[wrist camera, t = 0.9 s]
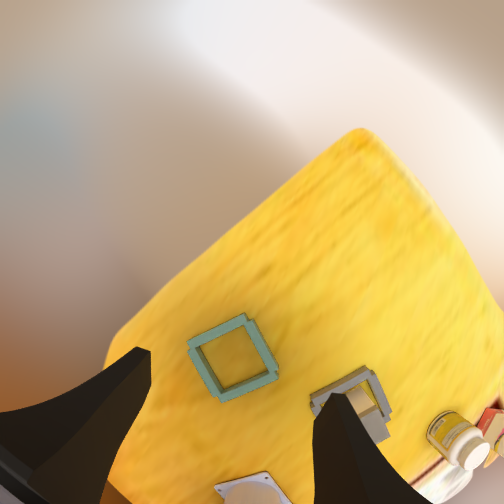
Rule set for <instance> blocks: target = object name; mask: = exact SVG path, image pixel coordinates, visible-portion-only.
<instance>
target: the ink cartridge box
mask: <svg viewBox="0 0 504 504" xmlns="http://www.w3.org/2000/svg"><path fill="white" fill-rule="evenodd" d="M477 428H479V429H480V430H481V431H482V434H483V439H484V440H485V441H487V442H488V443H489V444H490V448H491V449H493V450H494V451H495V452H497V453H498V454H499V455H501V456H502V457H503V458H504V410H501V409H492V408H486V410H485V412H484V414H483V416H482V418H481V420H480V421H479V423H478V425H477Z"/></svg>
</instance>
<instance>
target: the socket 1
mask: <svg viewBox="0 0 504 504" xmlns="http://www.w3.org/2000/svg"><path fill="white" fill-rule="evenodd" d="M242 325H244V327H245V328H246V330H247V332H248V334H249V336H250V338H251V340H252V341H253V343H254V345H255V347H256V349H257V351H258V352H259V354H260V356H261V358H262V360H263V362H264V363H265V365H266V367H267V369H268V371H266V372H264V373H261V374H259V375H257V376H255V377H252V378H250V379H248V380H246V381H243V382H241V383H239V384H236V385H234V386H232V387H229V388H227V389H224V390H223V388H222V386H221V385H220V383H219V381H218V380H217V378H216V376H215V374H214V373H213V371H212V369H211V367H210V365H209V364H208V362H207V360H206V358H205V356H204V355H203V353H202V351H201V349H200V347H199V346H200V345H202V344H204V343H206V342H209V341H211V340H213V339H215V338H217V337H219V336H221V335H223V334H225V333H227V332H229V331H232V330H234V329H236V328H238V327H240V326H242ZM187 344H188V345H189V347H190V350H188V351H187V352H188V354H189V356H190V358H191V360H192V362H193V363H194V365H195V367H196V369H197V371H198V372H199V374H200V376H201V378H202V379H203V381H204V383H205V385H206V386H207V388H208V390H209V391H210V393H211V395H212V396H213V397H216V396H217V397H218V398H219V400H220V402H221V403H223V402H226V401H229V400H231V399H234V398H236V397H239V396H241V395H243V394H246V393H248V392H251V391H253V390H255V389H258V388H260V387H262V386H264V385H267V384H269V383H271V382H273V381H275V380H278V379H279V374H278V373H277V371H276V370H278V369H279V365H278V363H277V361H276V360H275V358H274V356H273V354H272V352H271V350H270V349H269V347H268V345H267V343H266V341H265V339H264V337H263V336H262V334H261V332H260V330H259V328H258V326H257V324H256V323H255V321H254V319H251V320H249V319H248V317H247V315H246V313H243V314H241V315H239V316H237V317H235V318H233V319H231V320H229V321H227V322H225V323H223V324H221V325H219V326H217V327H215V328H213V329H211V330H209V331H206V332H204V333H202V334H200V335H198V336H196V337H194V338H192V339H190V340H188V341H187Z"/></svg>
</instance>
